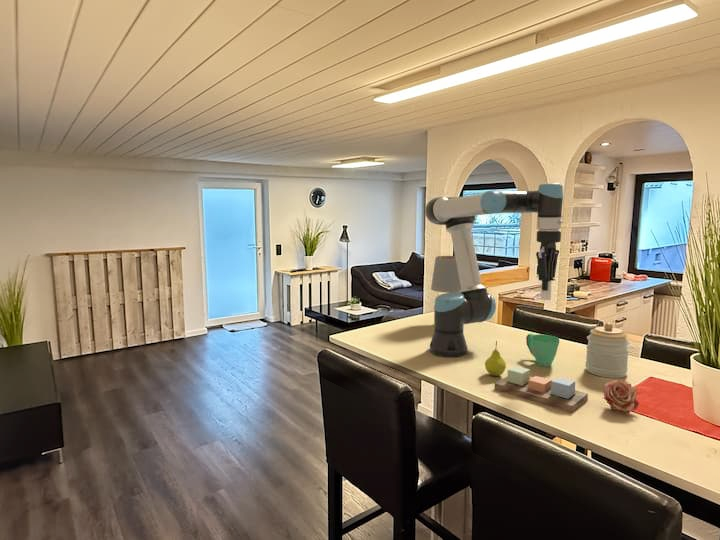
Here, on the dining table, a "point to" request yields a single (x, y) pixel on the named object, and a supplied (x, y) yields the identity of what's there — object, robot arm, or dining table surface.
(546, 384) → the button terracotta
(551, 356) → the mug
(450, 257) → the lamp
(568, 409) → the button board
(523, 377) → the button sage
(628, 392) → the flower
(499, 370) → the fruit
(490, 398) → the dining table surface
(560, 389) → the button slate
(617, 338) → the jar
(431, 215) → the robot arm
